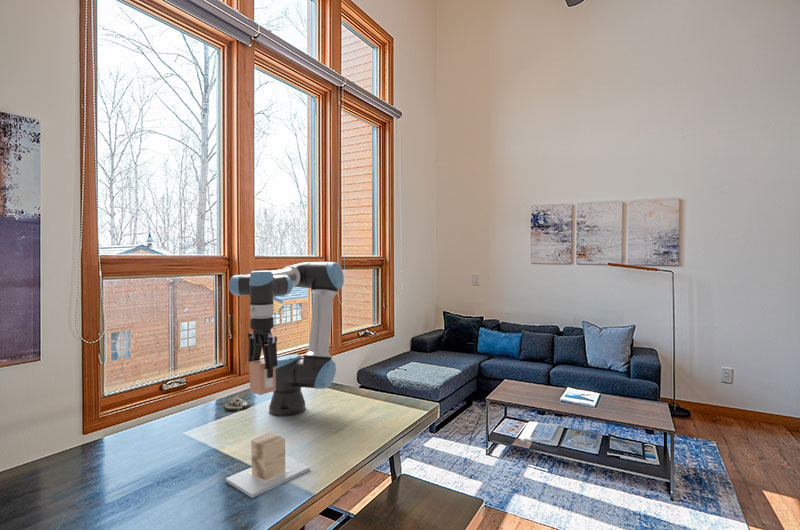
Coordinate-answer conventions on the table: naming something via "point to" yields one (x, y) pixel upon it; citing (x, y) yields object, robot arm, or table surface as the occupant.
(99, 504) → the table surface
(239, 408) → the grey lumpy mound
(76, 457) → the table surface
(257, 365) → the terracotta block
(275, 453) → the beech block
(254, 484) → the white flat board
